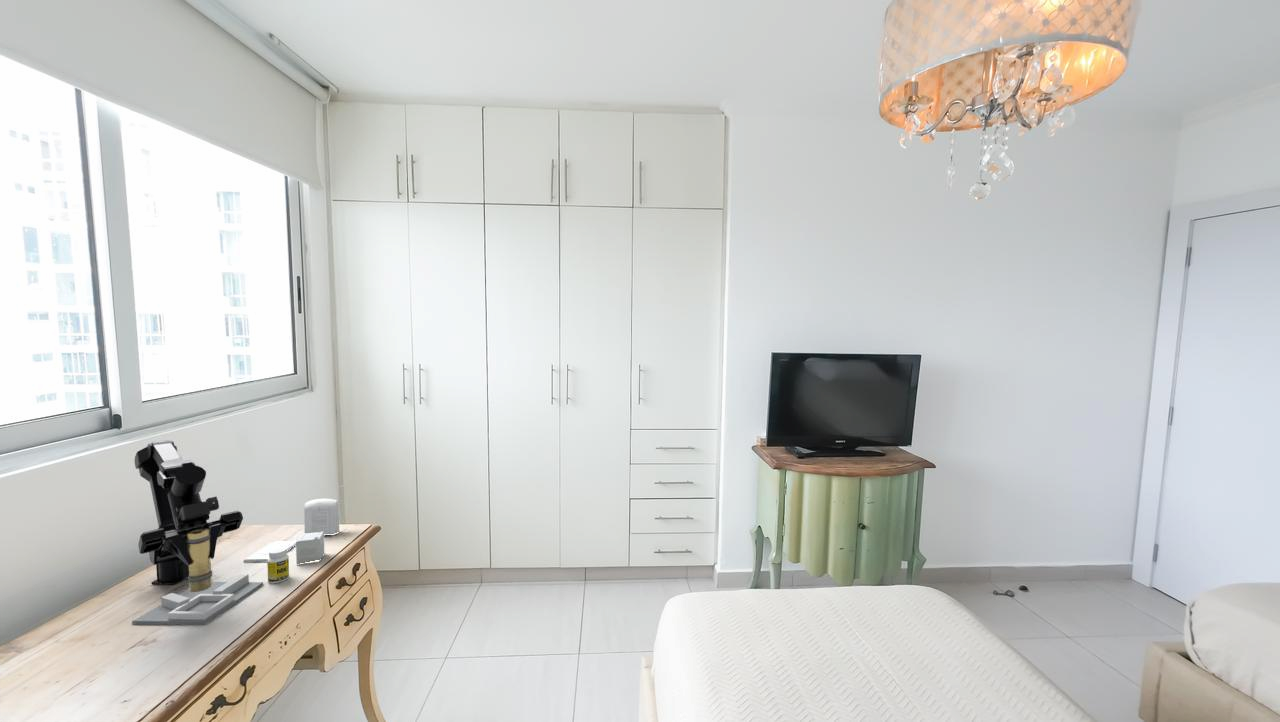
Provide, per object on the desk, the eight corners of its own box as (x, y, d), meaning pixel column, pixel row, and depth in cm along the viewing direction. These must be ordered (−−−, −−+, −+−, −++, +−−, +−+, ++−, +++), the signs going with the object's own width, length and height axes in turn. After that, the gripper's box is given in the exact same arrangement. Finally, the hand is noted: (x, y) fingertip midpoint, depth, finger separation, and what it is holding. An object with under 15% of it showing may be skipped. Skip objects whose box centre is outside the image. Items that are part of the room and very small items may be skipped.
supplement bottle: (277, 584, 133) (276, 554, 133) (263, 582, 134) (262, 553, 134) (293, 576, 138) (292, 547, 138) (279, 574, 139) (278, 545, 139)
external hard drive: (298, 545, 159) (271, 563, 146) (273, 546, 158) (243, 564, 146) (298, 541, 159) (271, 558, 146) (272, 541, 158) (243, 558, 146)
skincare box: (301, 557, 150) (300, 533, 149) (324, 553, 152) (324, 530, 152) (296, 565, 144) (295, 541, 144) (320, 562, 147) (319, 538, 146)
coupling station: (132, 624, 115) (131, 611, 115) (200, 584, 133) (199, 574, 133) (205, 624, 115) (204, 612, 115) (263, 585, 133) (262, 574, 133)
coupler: (184, 593, 117) (181, 536, 116) (196, 584, 121) (193, 529, 121) (205, 591, 118) (203, 535, 117) (216, 582, 122) (214, 527, 121)
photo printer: (341, 531, 169) (340, 495, 169) (336, 536, 165) (335, 500, 164) (308, 533, 167) (306, 497, 166) (302, 538, 163) (301, 502, 162)
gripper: (138, 499, 113) (151, 559, 107) (239, 479, 128) (255, 531, 122) (133, 524, 118) (145, 583, 112) (230, 502, 133) (246, 553, 127)
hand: (201, 561), depth 119 cm, fingers closed on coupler, 4 cm apart
